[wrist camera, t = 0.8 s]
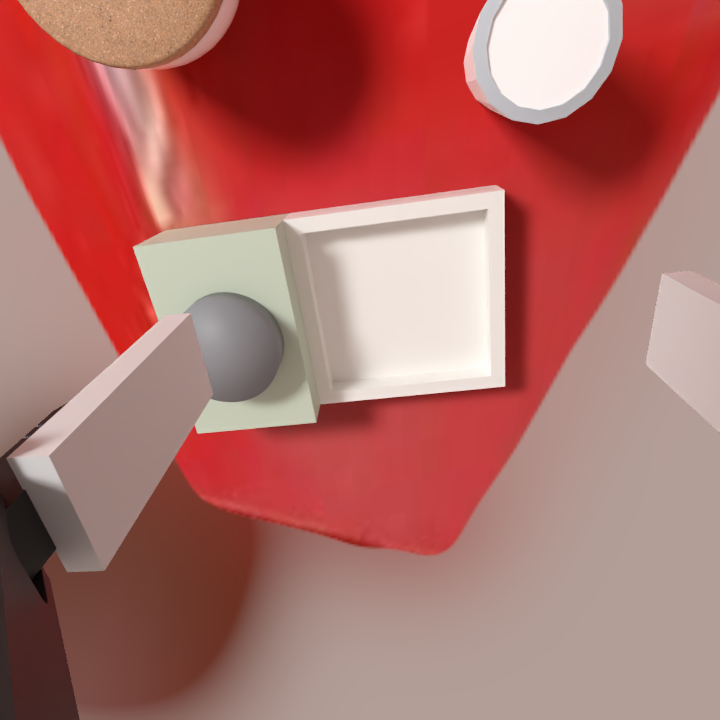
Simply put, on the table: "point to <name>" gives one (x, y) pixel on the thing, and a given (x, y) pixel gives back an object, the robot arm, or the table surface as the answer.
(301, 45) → the table surface
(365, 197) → the table surface
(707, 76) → the table surface
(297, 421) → the knobbed tray panel
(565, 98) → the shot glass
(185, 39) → the lidded jar
